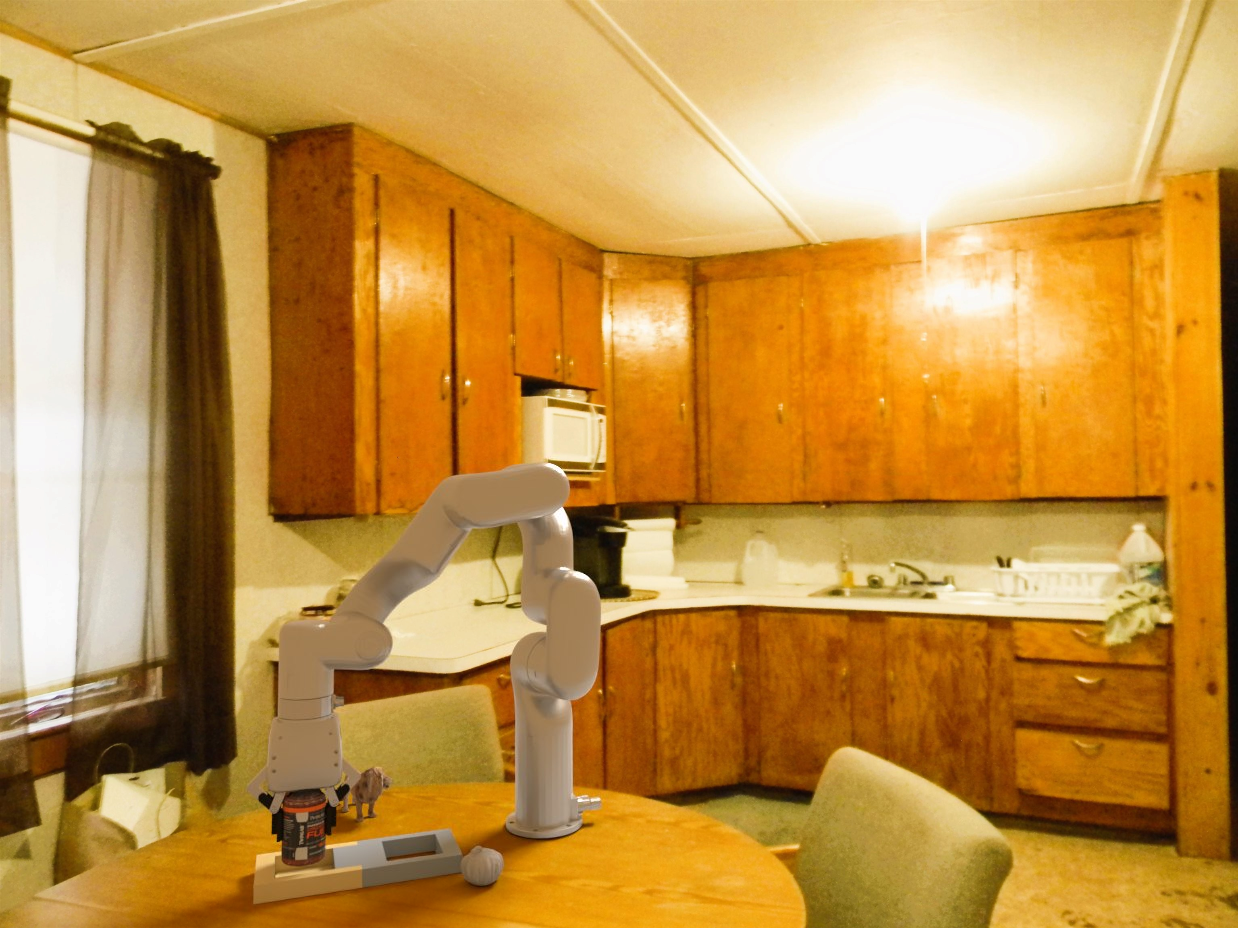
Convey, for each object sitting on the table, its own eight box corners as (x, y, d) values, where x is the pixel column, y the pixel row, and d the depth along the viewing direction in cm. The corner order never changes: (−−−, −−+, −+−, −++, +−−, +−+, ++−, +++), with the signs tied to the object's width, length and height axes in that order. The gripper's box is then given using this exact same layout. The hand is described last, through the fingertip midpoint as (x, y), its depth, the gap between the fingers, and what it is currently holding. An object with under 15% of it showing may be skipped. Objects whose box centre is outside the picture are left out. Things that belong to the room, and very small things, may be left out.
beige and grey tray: (449, 844, 137) (449, 828, 138) (462, 872, 127) (462, 854, 127) (256, 872, 128) (256, 854, 128) (253, 904, 117) (253, 885, 117)
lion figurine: (396, 819, 149) (396, 765, 149) (367, 828, 145) (367, 773, 145) (352, 799, 159) (352, 749, 159) (324, 807, 155) (324, 755, 155)
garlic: (463, 893, 120) (463, 855, 120) (458, 877, 125) (458, 840, 126) (506, 888, 122) (506, 849, 122) (500, 872, 127) (500, 835, 127)
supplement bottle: (311, 870, 121) (312, 786, 122) (272, 866, 122) (273, 784, 123) (333, 853, 127) (334, 773, 128) (296, 850, 128) (297, 771, 129)
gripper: (366, 697, 132) (364, 819, 132) (242, 706, 126) (239, 834, 126) (370, 708, 125) (368, 836, 124) (239, 718, 119) (236, 853, 118)
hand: (304, 834), depth 125 cm, fingers closed on supplement bottle, 6 cm apart
